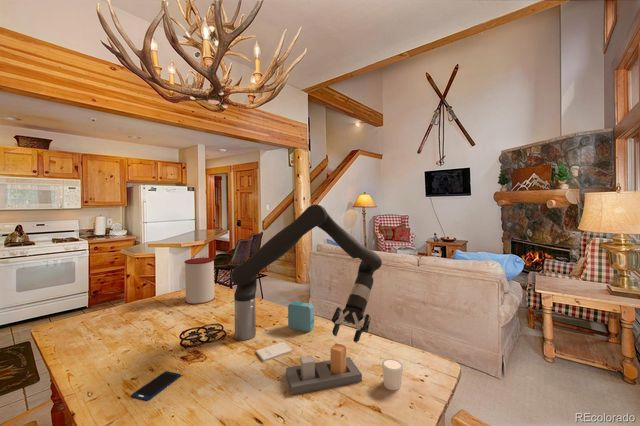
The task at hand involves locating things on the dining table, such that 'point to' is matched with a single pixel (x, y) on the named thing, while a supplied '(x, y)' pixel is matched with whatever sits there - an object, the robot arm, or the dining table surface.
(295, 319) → the data package
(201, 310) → the dining table surface
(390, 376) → the shot glass
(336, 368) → the plug
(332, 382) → the grey block holder
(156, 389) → the cell phone
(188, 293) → the container
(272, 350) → the external hard drive
